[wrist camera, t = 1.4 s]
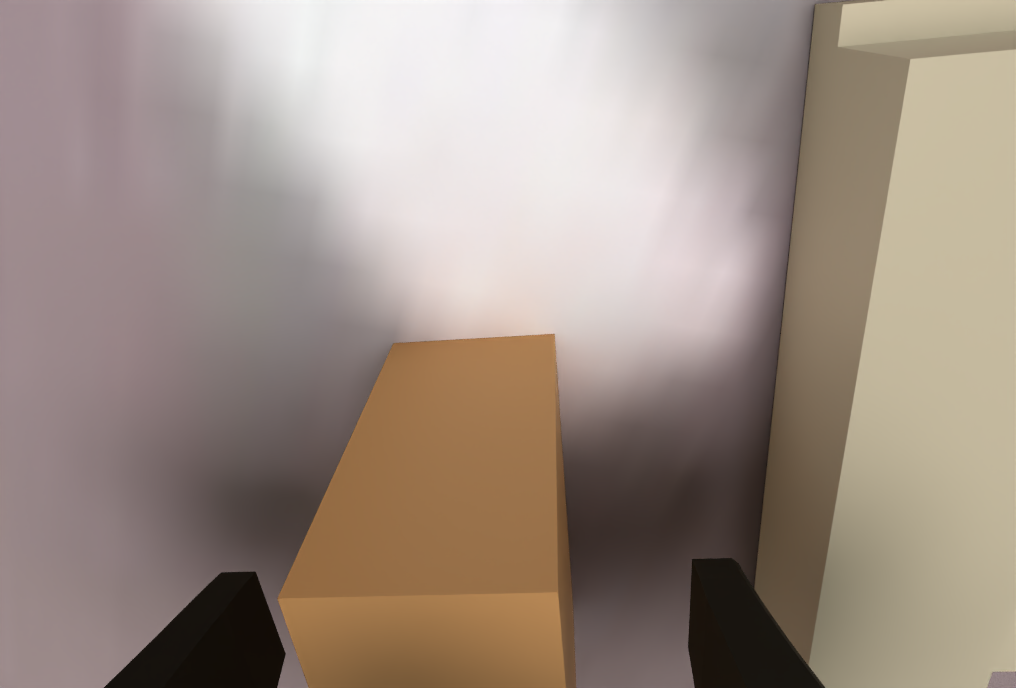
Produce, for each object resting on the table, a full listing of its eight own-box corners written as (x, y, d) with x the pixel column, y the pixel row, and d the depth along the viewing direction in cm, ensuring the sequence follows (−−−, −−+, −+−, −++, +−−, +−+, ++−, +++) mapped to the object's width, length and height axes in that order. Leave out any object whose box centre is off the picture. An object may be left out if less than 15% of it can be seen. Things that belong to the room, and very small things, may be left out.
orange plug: (573, 603, 15) (585, 925, 10) (444, 606, 16) (391, 920, 10) (554, 332, 12) (558, 591, 7) (394, 342, 12) (277, 599, 7)
